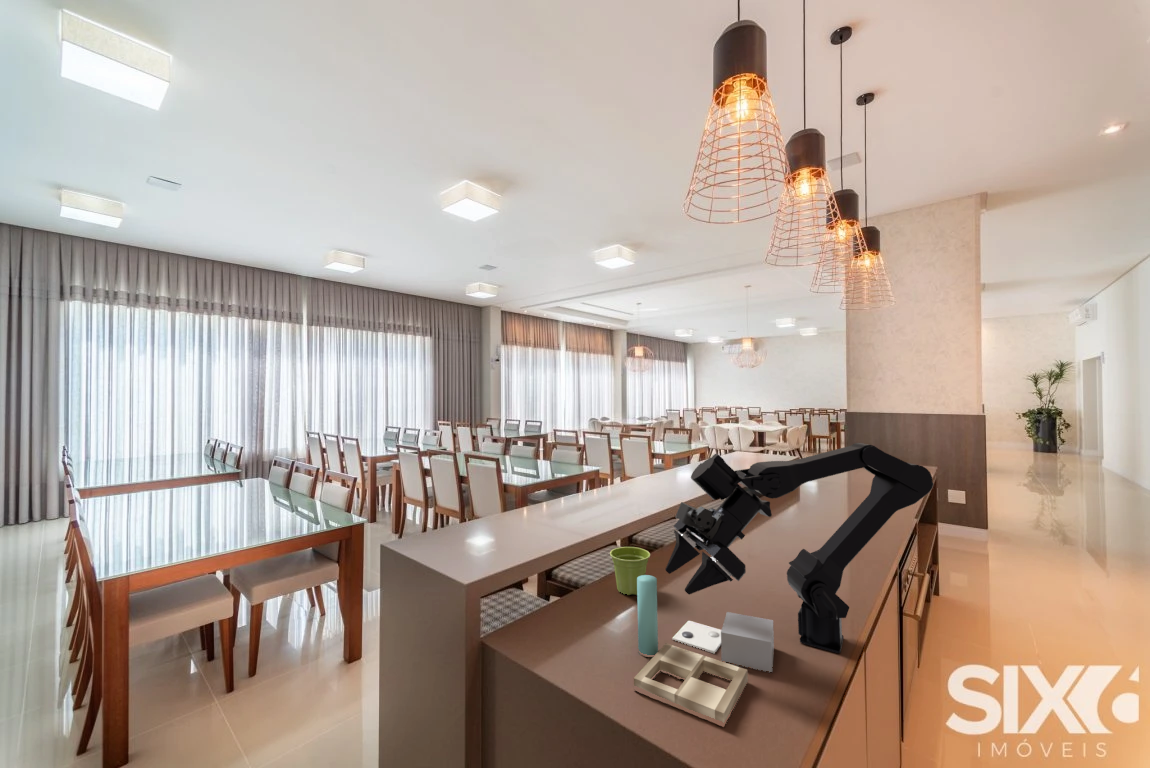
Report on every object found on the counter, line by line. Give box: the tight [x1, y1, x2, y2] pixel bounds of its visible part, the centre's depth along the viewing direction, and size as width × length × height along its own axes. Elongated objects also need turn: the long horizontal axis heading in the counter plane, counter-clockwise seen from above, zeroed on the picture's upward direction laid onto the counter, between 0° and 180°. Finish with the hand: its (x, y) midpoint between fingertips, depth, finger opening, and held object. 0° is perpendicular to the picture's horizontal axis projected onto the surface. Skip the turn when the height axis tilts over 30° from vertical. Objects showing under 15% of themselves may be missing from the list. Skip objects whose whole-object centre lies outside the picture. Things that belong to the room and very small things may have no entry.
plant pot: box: [609, 546, 651, 596], centre depth 108 cm, size 9×9×9 cm
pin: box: [636, 574, 659, 655], centre depth 82 cm, size 4×4×13 cm
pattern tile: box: [671, 620, 722, 654], centre depth 87 cm, size 8×8×1 cm
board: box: [633, 643, 749, 723], centre depth 72 cm, size 14×12×2 cm
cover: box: [720, 611, 775, 673], centre depth 81 cm, size 8×8×5 cm
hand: (676, 581), depth 83 cm, fingers open, 9 cm apart
